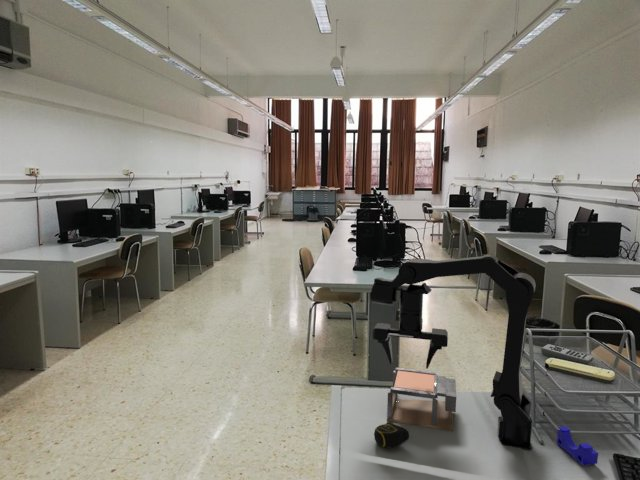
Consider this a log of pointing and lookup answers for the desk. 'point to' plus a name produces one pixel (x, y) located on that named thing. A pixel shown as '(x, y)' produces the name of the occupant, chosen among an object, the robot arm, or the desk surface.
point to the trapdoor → (429, 386)
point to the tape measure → (390, 435)
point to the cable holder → (576, 448)
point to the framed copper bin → (417, 407)
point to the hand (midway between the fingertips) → (408, 365)
